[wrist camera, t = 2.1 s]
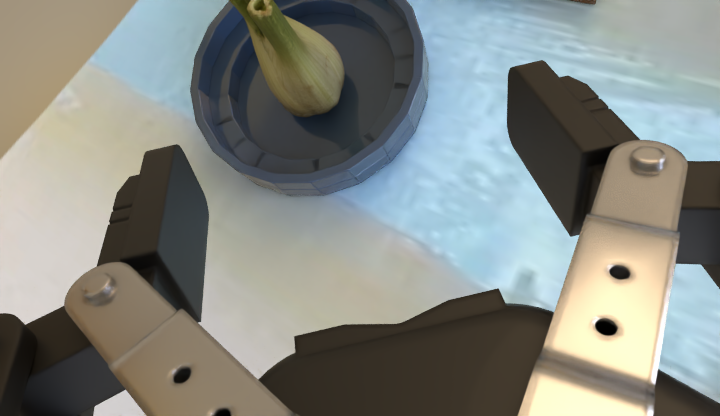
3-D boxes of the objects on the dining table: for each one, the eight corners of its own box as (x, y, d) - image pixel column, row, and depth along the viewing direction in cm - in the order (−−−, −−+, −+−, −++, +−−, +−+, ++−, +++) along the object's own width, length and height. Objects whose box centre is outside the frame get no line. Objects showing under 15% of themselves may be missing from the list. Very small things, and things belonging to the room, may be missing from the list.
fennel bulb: (276, 59, 38) (185, -63, 26) (343, 40, 37) (278, -95, 26) (287, 135, 36) (194, 39, 25) (357, 116, 35) (295, 8, 24)
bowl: (263, -26, 40) (245, -57, 37) (460, 13, 36) (457, -17, 33) (181, 159, 38) (154, 143, 35) (380, 227, 33) (369, 215, 30)
